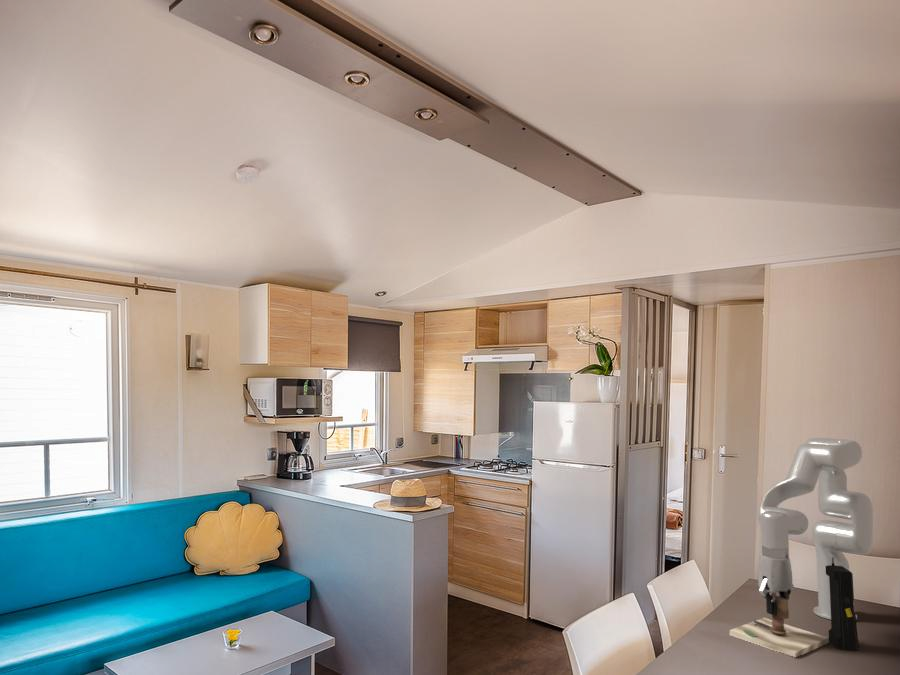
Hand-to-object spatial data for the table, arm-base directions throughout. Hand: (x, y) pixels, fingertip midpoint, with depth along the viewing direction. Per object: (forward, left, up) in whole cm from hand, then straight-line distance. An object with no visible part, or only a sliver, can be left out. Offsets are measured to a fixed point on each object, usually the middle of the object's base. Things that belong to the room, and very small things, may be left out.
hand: (777, 612), depth 190 cm
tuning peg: (0, -3, -6) cm, 7 cm away
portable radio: (-11, +14, -8) cm, 20 cm away
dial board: (0, 0, -8) cm, 8 cm away
